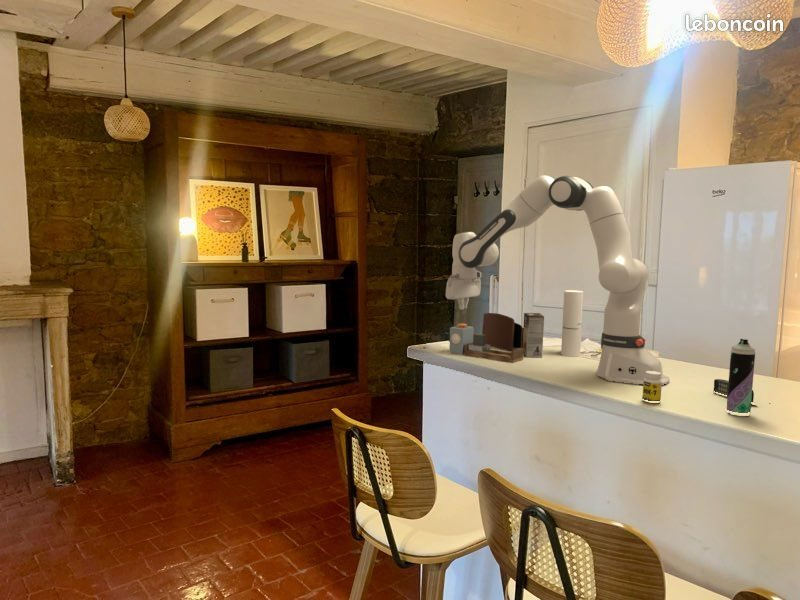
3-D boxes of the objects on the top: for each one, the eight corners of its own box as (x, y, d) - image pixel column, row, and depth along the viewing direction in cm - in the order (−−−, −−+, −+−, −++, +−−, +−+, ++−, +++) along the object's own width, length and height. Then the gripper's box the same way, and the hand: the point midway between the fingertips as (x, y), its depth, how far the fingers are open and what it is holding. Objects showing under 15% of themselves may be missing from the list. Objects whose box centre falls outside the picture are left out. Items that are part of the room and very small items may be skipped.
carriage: (489, 352, 227) (490, 334, 227) (482, 354, 223) (482, 336, 222) (476, 350, 231) (476, 332, 230) (468, 352, 226) (468, 334, 226)
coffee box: (521, 352, 233) (523, 312, 232) (538, 353, 233) (539, 312, 231) (526, 357, 224) (527, 315, 222) (543, 357, 224) (545, 316, 222)
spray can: (727, 415, 154) (733, 339, 152) (724, 409, 159) (730, 336, 157) (751, 418, 152) (758, 341, 150) (747, 412, 157) (754, 338, 155)
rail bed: (523, 359, 220) (523, 349, 220) (513, 363, 214) (513, 352, 213) (474, 352, 233) (474, 342, 232) (463, 355, 227) (463, 344, 226)
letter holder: (511, 352, 236) (513, 317, 234) (481, 343, 253) (482, 311, 251) (530, 350, 240) (532, 315, 239) (499, 342, 258) (500, 310, 256)
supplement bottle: (639, 401, 166) (641, 372, 165) (645, 398, 169) (646, 369, 168) (657, 405, 163) (659, 375, 162) (662, 401, 166) (664, 372, 165)
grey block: (473, 352, 233) (473, 327, 232) (461, 355, 227) (462, 329, 226) (460, 350, 237) (460, 325, 236) (448, 353, 230) (449, 327, 229)
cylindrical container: (584, 355, 230) (587, 291, 227) (571, 357, 226) (575, 292, 223) (569, 352, 236) (572, 290, 233) (557, 354, 232) (560, 290, 229)
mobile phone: (712, 378, 176) (752, 389, 161) (720, 377, 177) (761, 389, 162) (711, 394, 176) (751, 407, 162) (720, 394, 177) (760, 406, 162)
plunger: (468, 340, 232) (468, 324, 231) (463, 342, 229) (463, 325, 228) (460, 339, 234) (460, 323, 233) (455, 340, 231) (455, 324, 230)
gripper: (456, 275, 218) (455, 312, 220) (483, 273, 235) (483, 307, 236) (441, 274, 222) (441, 311, 224) (470, 272, 238) (469, 306, 240)
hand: (463, 309), depth 230 cm, fingers closed
